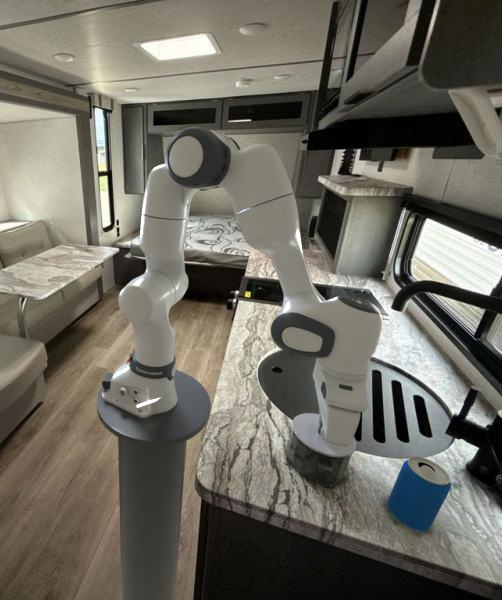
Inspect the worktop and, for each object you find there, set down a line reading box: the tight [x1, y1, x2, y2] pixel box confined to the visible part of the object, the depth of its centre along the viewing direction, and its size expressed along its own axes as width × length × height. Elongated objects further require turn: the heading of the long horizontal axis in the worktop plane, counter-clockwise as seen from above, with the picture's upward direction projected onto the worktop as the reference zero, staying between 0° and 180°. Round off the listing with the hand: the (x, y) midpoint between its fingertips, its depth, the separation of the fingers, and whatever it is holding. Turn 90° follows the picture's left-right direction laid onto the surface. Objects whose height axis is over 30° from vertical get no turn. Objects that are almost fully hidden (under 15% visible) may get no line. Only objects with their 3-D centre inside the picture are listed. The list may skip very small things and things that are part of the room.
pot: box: [286, 412, 352, 486], centre depth 68 cm, size 12×17×7 cm
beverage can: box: [386, 455, 452, 532], centre depth 56 cm, size 6×6×12 cm
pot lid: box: [291, 412, 357, 458], centre depth 66 cm, size 12×12×5 cm
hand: (323, 429), depth 66 cm, fingers closed on pot lid, 2 cm apart
